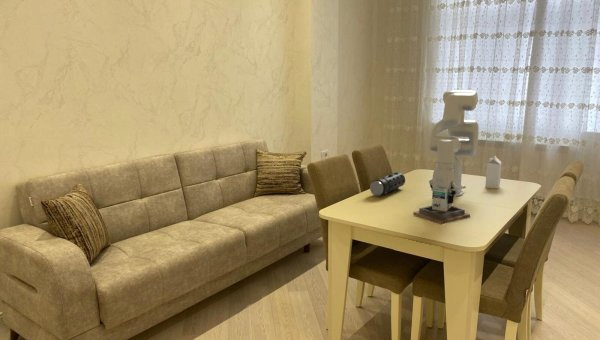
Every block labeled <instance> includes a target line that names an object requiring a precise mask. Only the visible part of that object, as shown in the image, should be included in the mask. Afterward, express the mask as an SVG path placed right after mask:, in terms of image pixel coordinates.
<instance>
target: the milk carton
mask: <svg viewBox="0 0 600 340" xmlns="http://www.w3.org/2000/svg"><path fill="white" fill-rule="evenodd" d="M502 166H503V165H502V161H501V160H500V159H499V158H498V157H497V155H495V156H493V157H490V158H489V159H488V162H487V163H486V173H485V183H484V184H485V186H484V187H485V188H488V189H496V188H498V189H500V187H499V186H500V185H501V177H502V176H501V174H502Z"/></svg>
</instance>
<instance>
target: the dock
mask: <svg viewBox="0 0 600 340" xmlns="http://www.w3.org/2000/svg"><path fill="white" fill-rule="evenodd" d="M413 216H415V217H418V218H421V219H424V220H427V221H430V222H432V223H434V224H435V223H436V224H437V225H438V224H439V225H445V224H448V223H454V222H457V221H461V220H465V219H468V218H470V217H471V213H467V212H466V210H465V209H463V208H461V207H457V206H453V205H452V207H450V208H449V209H448V210H447V211H441V210H435V209H432V205H430V206H429V205H428V206H424V207H419V208H418V210H417V211H413Z"/></svg>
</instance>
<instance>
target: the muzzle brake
mask: <svg viewBox="0 0 600 340" xmlns="http://www.w3.org/2000/svg"><path fill="white" fill-rule="evenodd" d="M405 183H406V178H405V175H404V174H403V173H402V172H399V171H397V172H394V173H391V174H388V175H386V176H383V177H379V178H376V179H374V180H373V181H372V182H371V184H370V185H369V190H370V193H371V194H372V195H374V196H376V197H383V196H385V195H386V194H388V193H391V192H393V191H396V190H398V189H399V188H400V187H403V186H404V185H405Z"/></svg>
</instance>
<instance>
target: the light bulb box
mask: <svg viewBox="0 0 600 340" xmlns="http://www.w3.org/2000/svg"><path fill="white" fill-rule="evenodd" d="M432 193H433V199H432V205H431V206H432V209H435V210H441V211H447V210H448V209H449V208H450V207H452V206H453V203H451V204H448V195H449V193H448V189H445V188H441V187H438V186H435V187H433V191H432Z"/></svg>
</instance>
